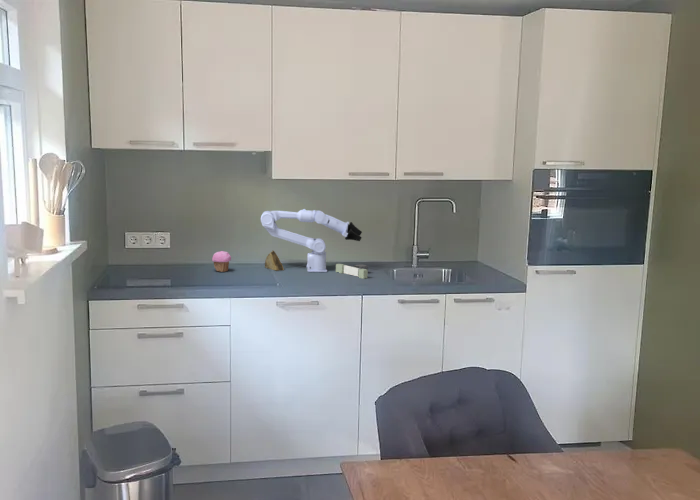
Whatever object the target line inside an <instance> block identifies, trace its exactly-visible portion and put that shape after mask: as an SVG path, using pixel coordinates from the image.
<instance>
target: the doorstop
mask: <svg viewBox="0 0 700 500" xmlns="http://www.w3.org/2000/svg"><path fill="white" fill-rule="evenodd" d="M353 267H355V268H361V269H366V270H368V271H369V265H366V264H362V263H361V264H360V263H359V264H354V265H353Z"/></svg>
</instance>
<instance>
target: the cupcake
mask: <svg viewBox="0 0 700 500" xmlns="http://www.w3.org/2000/svg"><path fill="white" fill-rule="evenodd" d="M211 260H212V262H213V267H214V269H215V271H216V272H221V273H225V272H228V271H229V264H230V261H232V256H231V255H230V253H229V252H228V251H224V250H221V251H216V252H215V253H213V255H212V259H211Z"/></svg>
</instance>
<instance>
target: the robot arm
mask: <svg viewBox="0 0 700 500" xmlns="http://www.w3.org/2000/svg"><path fill="white" fill-rule="evenodd" d="M281 219H294V220H298V221H299V222H300V223H314V222H316V224H318V225H320V224H321V225H323V226H325V227H326V228H328V229H331V230H333V231H334V232H336V233H339V234H341V235H342V237H344V239H345V240H351V241H356V242H361V241H362V238H363V237H362V236H361V235H362V233H363V232H362V230H360V229H359V228H358V227H357V226H356V225H355V224H354V223H353V222H352V221H345V222H344V221H342V220H341V219H338V218H336V217H334V216H332V215H329V214H325V212H323V211H322V210H319V209H318V210H316V209H313V210H311V209H310V210H308V209H307V210H306V208H303V209H300V210H298V211H286V210H265V211H263V212H262V214H261V216H260V223H261V225H262V227H263V228H264V229H265V230H266V232H268V235H270V236H271V237H274V238H277V239H280V240H284V241H287V242H290V243H293V244H297V245H299V246H303V247H306V248H308V249H310V250H311V252H308V253H307V254H306V255H307V256H306V270H307V272H308V273H321V272H324V273H328V269H327V251H326V248H327V247H326V246H327V245H326V243H325V240H324V239H322V237H321V238H320V237H317V238H315V237H309V236H305V235H303V234H300V233H296V232H292V231H289V230H287V229H283V228H281V227H279V226H278V225H277V221H278V220H279V221H280V220H281Z"/></svg>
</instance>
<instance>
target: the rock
mask: <svg viewBox="0 0 700 500" xmlns="http://www.w3.org/2000/svg"><path fill="white" fill-rule="evenodd" d="M264 260H265V262H264V268H266V269H269V270H271V271H272V270H273V271H284V270H285V269H284V266H283V264H282V262H281V260H280V258H279V256H278V255H277V253H276V251H274V250H272V251H270V252H269V253H268V254H267V256H266V258H265V259H264Z"/></svg>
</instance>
